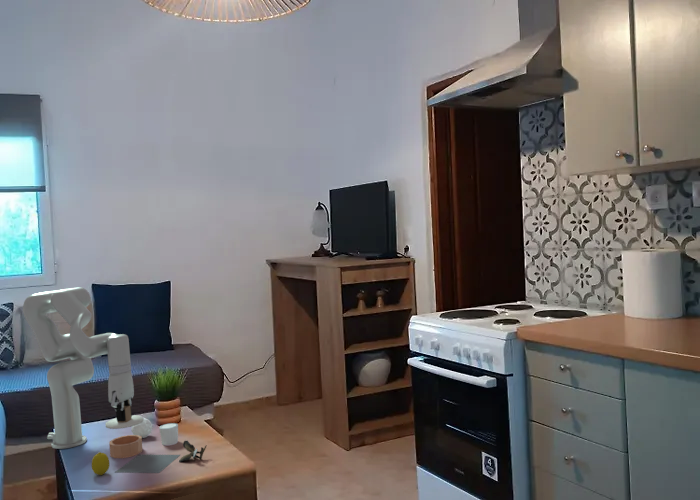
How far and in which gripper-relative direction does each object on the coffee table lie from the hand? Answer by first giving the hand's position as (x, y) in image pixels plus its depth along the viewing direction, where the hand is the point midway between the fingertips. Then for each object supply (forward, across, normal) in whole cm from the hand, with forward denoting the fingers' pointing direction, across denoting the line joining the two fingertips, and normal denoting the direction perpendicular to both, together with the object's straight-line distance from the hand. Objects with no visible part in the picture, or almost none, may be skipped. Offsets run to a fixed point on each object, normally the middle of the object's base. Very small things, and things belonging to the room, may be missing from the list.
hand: (124, 418), depth 231 cm
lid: (+2, 0, 0) cm, 2 cm away
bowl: (+13, 0, 0) cm, 13 cm away
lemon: (+13, +20, +2) cm, 24 cm away
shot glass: (+13, -10, +12) cm, 20 cm away
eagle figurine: (+14, +6, +27) cm, 31 cm away
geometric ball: (+13, -17, -3) cm, 22 cm away
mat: (+13, +10, +14) cm, 21 cm away
